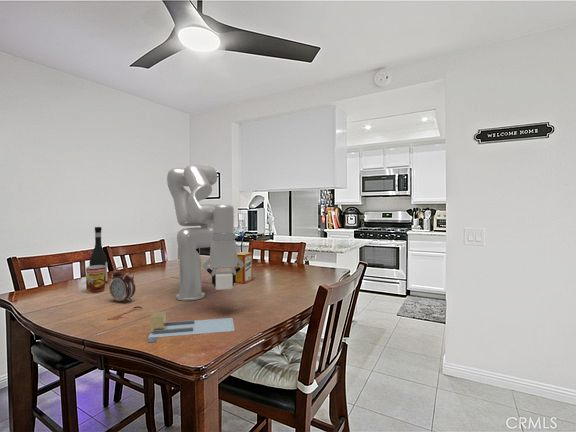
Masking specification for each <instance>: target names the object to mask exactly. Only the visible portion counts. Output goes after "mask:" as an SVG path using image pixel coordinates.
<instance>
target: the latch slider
mask: <svg viewBox="0 0 576 432" xmlns="http://www.w3.org/2000/svg"><path fill="white" fill-rule="evenodd" d="M166 322H167V312H166V310H165V311H153V312H152V313H151V315H150V317H149V334H150V333H151V332H153V330H162V329H165V327H166Z"/></svg>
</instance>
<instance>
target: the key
mask: <svg viewBox="0 0 576 432" xmlns="http://www.w3.org/2000/svg"><path fill="white" fill-rule="evenodd" d="M141 310H143V307H142V306H134V307H133V308H132V309H130V310H127V311H126V312H122V313H120V314H118V315H115V316H112V317H110V318H108V319H107V320H108V321H117V320H120V319H123V318H124V316H125V315H126V314H129V313H132V312H134V311H141ZM123 315H124V316H123Z"/></svg>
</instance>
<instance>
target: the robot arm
mask: <svg viewBox="0 0 576 432" xmlns="http://www.w3.org/2000/svg"><path fill="white" fill-rule="evenodd" d="M217 181H218V173H217V170H216V169H215V168H214V167H213V166H210V165H201V164H200V165H199V164H191V165H190V164H189V165H187V166H186V167H184V168H183V167H175V168H174V167H173V168H171V169H169V170H168V173H167V176H166V182H167V183H166V184H167V187H168V190H169V193H170V195H171V196H172V197H171V198H172V199H173V203H174V204H173V205H174V209H175V215H176V220H177V222H178V224H179V226H181V227H185V228H181V229H180V230H179V231H178V232H177V235H176V242H177V247H178V258H179V260H178V263H179V267H178V268H179V271H178V273H179V275H178V276H179V285H178V286H179V293H177V294H175V299H176V300H178V301H181V302H182V301H183V302H184V301H185V302H188V301H189V302H190V301H198V300H200V299H203V298H205V296H206V293H205V292H203V291H202V268H203V269H204V270H205V271H206V272H207V273H208V274H210V276H211V284H212V285H213V287H215V288H216V271H218V270H217V269H231V270H230V271H232V275H233V286H235V284H237V283H236V274H237V273H238V272H239V270H240V269H241V268H242V267H243V266H244V263H243V262H242V261H241V260H240V259H239V258H238V257H237V253H238V248H237V242H236V240H235V239H238V238H239V237H238V233H237V234H236V233H234V231H235V229H234V228H235V223H234V221H235V219H234V217H235V216H234V212H235V210H234V206H233V205H230V204H213V203H212V204H211V203H210V204H209V203H208V204H207V203H204V204H201V203H199V202H200V201H203V200H205V199H207V198H208V197H210V196H211V194H212V192H213V187H212V186H213V185H215V184H217V183H216V182H217ZM185 187H186V188H187V187H188V188H189V189H190V192H189V191H188V190H187V189H186V188H185ZM204 248H210V249H209V258H208V259H207V260H206V261H205V262H204V263H203V264H202V257H201V255H200V253H199V252H198V250H197V249H204ZM237 262H238V263H239V264H240V265H239V266H238V267H237V268H236V269H235V268H234V267H236V266H237ZM209 265H210V267H211V268H212V269H211V268H210V267H209Z"/></svg>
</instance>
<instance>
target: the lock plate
mask: <svg viewBox="0 0 576 432" xmlns="http://www.w3.org/2000/svg"><path fill="white" fill-rule="evenodd" d="M226 332H235V324H234V319H233V317H227V318H212V319H211V318H210V319H198V320H194V319H191V320H190V319H189V320H180V321H179V320H177V321H166V327H165V329H162V330H153V332H151V333H150V332H149V335H148V337H147V343H148V344H149V343H157V342H158V339H159V338H161V337H162V338H163V337H175V336H177V337H178V336H187V335H189V336H190V335H198V334H213V333H226Z"/></svg>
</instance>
